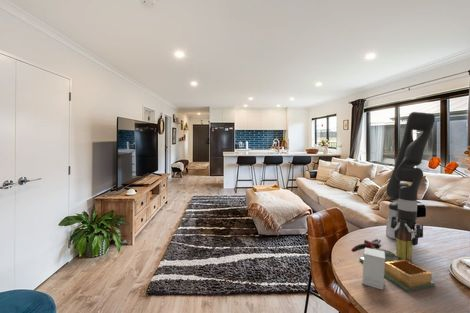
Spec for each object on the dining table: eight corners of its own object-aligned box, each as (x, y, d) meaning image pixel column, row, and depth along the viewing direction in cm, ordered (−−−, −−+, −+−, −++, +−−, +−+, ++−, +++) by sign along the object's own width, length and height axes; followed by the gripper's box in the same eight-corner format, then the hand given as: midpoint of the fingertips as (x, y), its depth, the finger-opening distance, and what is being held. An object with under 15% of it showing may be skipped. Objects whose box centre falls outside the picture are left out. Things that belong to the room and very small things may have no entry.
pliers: (367, 253, 116) (387, 240, 129) (350, 246, 124) (371, 235, 136) (367, 259, 117) (387, 245, 129) (350, 252, 124) (370, 240, 136)
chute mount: (359, 260, 113) (359, 249, 112) (383, 257, 116) (383, 246, 116) (407, 291, 90) (407, 277, 89) (434, 286, 93) (435, 273, 93)
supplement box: (383, 290, 90) (385, 258, 89) (361, 284, 94) (363, 253, 93) (383, 280, 97) (385, 251, 96) (363, 275, 100) (364, 246, 100)
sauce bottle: (408, 257, 116) (411, 218, 115) (413, 263, 110) (416, 222, 109) (393, 255, 118) (395, 216, 117) (397, 261, 113) (399, 220, 111)
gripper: (428, 212, 107) (426, 247, 108) (399, 204, 120) (397, 235, 121) (416, 213, 105) (414, 248, 106) (387, 205, 118) (386, 236, 119)
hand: (405, 241), depth 113 cm, fingers open, 8 cm apart
